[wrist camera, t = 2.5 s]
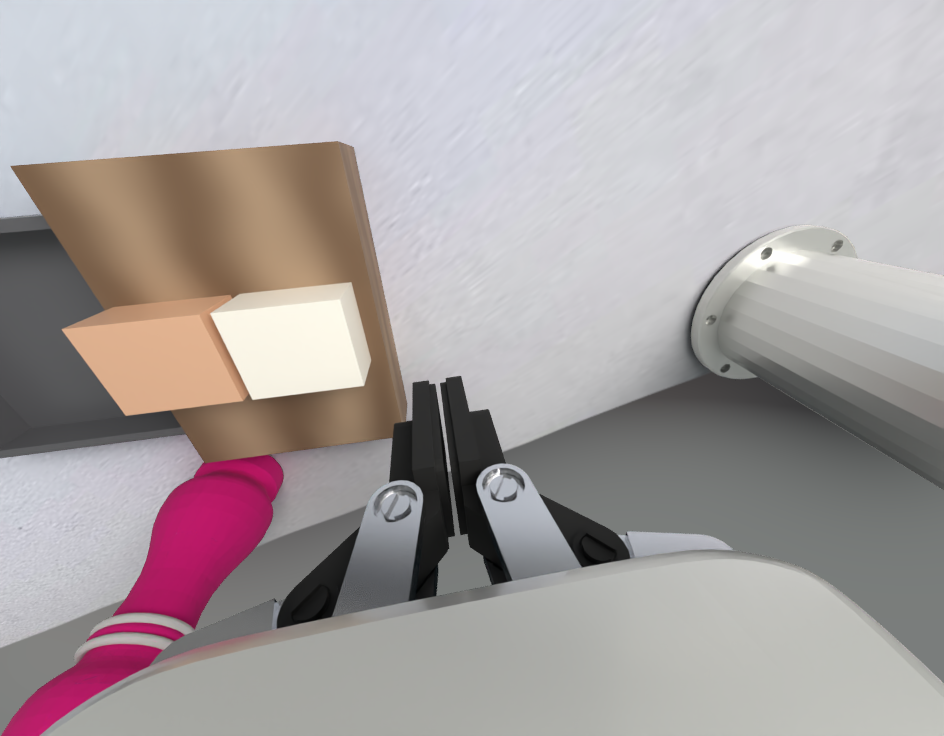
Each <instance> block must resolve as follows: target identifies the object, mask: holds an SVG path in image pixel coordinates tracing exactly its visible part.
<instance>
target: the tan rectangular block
mask: <svg viewBox="0 0 944 736" xmlns="http://www.w3.org/2000/svg"><path fill="white" fill-rule="evenodd" d="M231 299H232V297H231V295H224V296H214V297H205V298H195V299H186V300H176V301H167V302H157V303H147V304H138V305H128V306H119V307H112V308H110V309H108V310H105V311H103V312H101V313H98V314H96V315H94V316H91V317H89V318H87V319H84V320H82V321H80V322H77V323H75V324H73V325H70V326H68V327H66V328H63V329H61V330H62V331H63V332H64V334H65V335H66V336H67V338H68V339H69V340H70V342H71V343H72V344H73V346H74V347H75V348H76V350H77V351H78V352H79V354H80V355H81V356H82V358H83V359H84V360H85V362H86V363H87V364H88V366H89V367H90V368H91V370H92V371H93V372H94V374H95V375H96V376H97V378H98V379H99V380H100V382H101V383H102V384H103V386H104V387H105V388H106V390H107V391H108V392H109V394H110V395H111V396H112V398H113V399H114V400H115V402H116V403H117V405H118V406H119V407H120V409H121V410H122V411H123V413H124V414H125V415H126V416H128V415H136V414H144V413H152V412H160V411H168V410H176V409H184V408H192V407H200V406H208V405H216V404H224V403H232V402H240V401H243V400H244V399H245V398H246V397H247V395H248V394H249V392H248V390H247V388H246V386H245V384H244V382H243V379H242V377H241V375H240V373H239V371H238V369H237V367H236V365H235V363H234V361H233V359H232V357H231V355H230V353H229V351H228V349H227V347H226V345H225V343H224V341H223V339H222V337H221V335H220V333H219V331H218V329H217V327H216V325H215V323H214V321H213V319H212V316H211V314H210V313H211V312H213V311H214V310H216V309H218V308H219V307H221V306H222V305H224V304H225V303H227V302H228V301H230V300H231Z"/></svg>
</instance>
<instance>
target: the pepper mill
mask: <svg viewBox="0 0 944 736" xmlns="http://www.w3.org/2000/svg"><path fill="white" fill-rule="evenodd" d="M282 482H283V472H282V469H281V467H280V465H279V464H278V463H277V462H276V460H275V459H274V458H272V457H271V456H269V455H262V456H255V457H247V458H240V459H233V460H225V461H218V462H211V463H205V462H204V463H203V464H202V465H201V467H200V468H199V469H198V470H197V472H196V474H195V476H194V478H193V479H190V480H188V481H186V482H184V483H182V484H181V485H179V486H178V487H177V488H176V489H174V490H173V491H172V493H171V494H170V495H169V496H168V498H167V499H166V501H165V502H164V504H163V505H162V507H161V509H160V511H159V513H158V515H157V518H156V520H155V523H154V526H153V530H152V536H151V541H150V547H149V551H148V555H147V559H146V562H145V564H144V567H143V569H142V572H141V574H140V576H139V578H138V580H137V581H136V583H135V585H134V586H133V588H132V590H131V591H130V593H129V595H128V596H127V598H126V599H125V601H124V602H123V603H122V604H121V606H120V607H119V608H118V609H117V611H116V612H115V613H114V615H113V616H112V617H110V618H107V619H105V620H103V621H101V622H99V623H98V624H97V625H96V626H95V627H94V628H93V629H92V630H91V632H90V637H89V639H88V640H87V641H86V643H84V644H83V645H81V646H80V647H79V648H78V649H77V651H76V653H75V657H74V660H75V664H76V665H75V666H74V667H72V668H70V669H69V670H67V671H65V672H64V673H62V674H60V675H59V676H57V677H56V678H54V679H52V680H51V681H49V682H48V683H46V684H45V685H44V686H42V687H41V688H39V689H38V690H37V691H36V692H35V693H34V694H33V695H32V696H31V697H30V698H29V699H28V700H27V701H26V702H25V703H24V705H23V706H22V707H21V708H20V709H19V711H18V712H17V713H16V714H15V715H14V716H13V718H12V719H11V721H10V723H9V724H8V726H7V727H6V729H5V730H4V732H3V733H2V735H1V736H40V735H41V734H42V733H43V732H45V731H46V730H47V729H48V728H49V727H50V726H52V725H53V724H54V723H55V722H56V721H58V720H59V719H61V718H62V717H63V716H65V715H66V714H68V713H69V712H70V711H72V710H73V709H75V708H76V707H78V706H79V705H81V704H82V703H84V702H85V701H87V700H88V699H90V698H91V697H93V696H94V695H96V694H98V693H100V692H101V691H103V690H105V689H107V688H109V687H110V686H112V685H114V684H116V683H117V682H119V681H121V680H123V679H125V678H127V677H128V676H130V675H132V674H134V673H136V672H138V671H140V670H143V669H145V668H147V667H149V666H150V664H151V663H152V662H153V661H154V659H155V658H156V657H157V656H158V654H160V653H161V652H162V651H163V650H164V649H165V648H166V647H168V646H169V645H170V644H171V643H172V642H174V641H176V640H178V639H179V638H181V637H183V636H185V635H187V634H189V633H192V632H194V631H195V627H196V625H197V623H198V620H199V618H200V616H201V613H202V611H203V610H204V608H205V606H206V604H207V603H208V601H209V599H210V598H211V596H212V594H213V593H214V592H215V591H216V589H217V588H218V587H219V586H220V584H221V583H222V582H223V580H224V579H225V578H226V577H227V576H228V575H229V574H230V573H231V572H232V571H233V570H234V569H235V568H236V567H237V566H238V565H239V564H240V563H241V562H242V561H243V560H244V559H245V558H246V557H247V556H248V555H249V554H250V553H251V552H252V551H253V550H254V548H255V547H256V546H257V545H258V543H259V542H260V541H261V540H262V538H263V537H264V535H265V533H266V531H267V529H268V528H269V526H270V524H271V521H272V518H273V508H272V504H271V502H272V501H273V500H274V499H275V497H276V495H277V493H278V491H279V489H280V486H281V484H282Z"/></svg>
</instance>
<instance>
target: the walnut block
mask: <svg viewBox="0 0 944 736" xmlns="http://www.w3.org/2000/svg"><path fill="white" fill-rule="evenodd" d="M11 168H12V170H13V171H14V173H15V174H16V176H17V177H18V179H19V180H20V182H21V183H22V185H23V186H24V188H25V189H26V191H27V192H28V194H29V195H30V197H31V199H32V200H33V202H34V203H35V205H36V206H37V208H38V209H39V211H40V212H41V214H42V215H43V217H44V218H45V220H46V221H47V223H48V224H49V226H50V227H51V229H52V231H53V232H54V234H55V235H56V237H57V238H58V240H59V241H60V243H61V244H62V246H63V247H64V249H65V250H66V252H67V253H68V255H69V256H70V258H71V260H72V261H73V263H74V264H75V266H76V267H77V269H78V270H79V272H80V273H81V275H82V276H83V278H84V279H85V281H86V282H87V284H88V285H89V287H90V288H91V290H92V292H93V293H94V295H95V296H96V298H97V299H98V301H99V302H100V304H101V305H102V307H103V308H104V310H108V309H110V308H112V307H119V306H128V305H138V304H147V303H157V302H167V301H176V300H186V299H195V298H205V297H214V296H224V295H231V297H232V299H233V298H234V297H236V296H237V295H239V294H243V293H253V292H262V291H272V290H282V289H291V288H301V287H310V286H320V285H330V284H339V283H349V282H351V283H352V287H353V291H354V294H355V298H356V302H357V306H358V310H359V314H360V318H361V322H362V326H363V330H364V334H365V338H366V341H367V345H368V349H369V353H370V357H371V363H370V367H369V370H368V374H367V377H366V381H365V384H364V386H359V387H351V388H343V389H335V390H327V391H319V392H311V393H303V394H295V395H287V396H279V397H271V398H263V399H255V400H252V398H251V396H250V394H248V395H247V397H246V398H245V399H244V400H243V401H240V402H232V403H224V404H216V405H208V406H200V407H192V408H184V409H176V410H171V412H172V414H173V415H174V417H175V418H176V420H177V421H178V423H179V424H180V426H181V427H182V429H183V430H184V432H185V433H186V435H187V436H188V438H189V439H190V441H191V442H192V444H193V446H194V447H195V449H196V450H197V452H198V453H199V455H200V456H201V458H202V459H203V461H204V462H205V463H211V462H218V461H225V460H233V459H240V458H247V457H255V456H262V455H269V454H277V453H284V452H291V451H298V450H306V449H313V448H320V447H328V446H335V445H342V444H350V443H357V442H364V441H372V440H379V439H386V438H393V429H394V424H395V423H400V422H406V413H407V401H406V396H405V391H404V386H403V382H402V377H401V372H400V367H399V362H398V358H397V353H396V348H395V343H394V339H393V334H392V329H391V324H390V319H389V315H388V310H387V305H386V300H385V296H384V291H383V286H382V281H381V276H380V272H379V267H378V262H377V257H376V253H375V248H374V243H373V238H372V233H371V229H370V224H369V219H368V214H367V210H366V205H365V200H364V195H363V190H362V186H361V181H360V176H359V171H358V166H357V162H356V157H355V152H354V147H352V146H349V145H346V144H344V143H341V142H338V141H336V142H322V143H309V144H296V145H283V146H269V147H256V148H243V149H230V150H217V151H203V152H190V153H177V154H164V155H150V156H137V157H124V158H111V159H97V160H84V161H71V162H58V163H44V164H31V165H18V166H11Z"/></svg>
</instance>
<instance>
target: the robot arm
mask: <svg viewBox="0 0 944 736" xmlns="http://www.w3.org/2000/svg"><path fill="white" fill-rule="evenodd" d="M691 341H692V347H693V350H694V353H695V356H696V357H697V358H698V360H699V361H700V363H701V364H702V365H704V366H705V367H706V368H708V369H709V370H710V371H712V372H713V373H715V374H717V375H719V376H721V377H725V378H729V379H748V378H755V377H759V378H761V379H762V380H764V381H766V382H767V383H769V384H770V385H772V386H774V387H775V388H777V389H779V390H780V391H782V392H784V393H785V394H787V395H788V396H790V397H792V398H793V399H795V400H797V401H798V402H800V403H802V404H803V405H805V406H806V407H808V408H810V409H811V410H813V411H815V412H816V413H818V414H820V415H821V416H823V417H824V418H826V419H828V420H829V421H831V422H833V423H834V424H836V425H838V426H839V427H841V428H843V429H844V430H846V431H847V432H849V433H851V434H852V435H854V436H856V437H857V438H859V439H860V440H862V441H864V442H865V443H867V444H869V445H870V446H872V447H874V448H875V449H877V450H878V451H880V452H882V453H883V454H885V455H887V456H888V457H890V458H892V459H893V460H895V461H897V462H898V463H900V464H901V465H903V466H905V467H906V468H908V469H909V470H911V471H913V472H915V473H916V474H918V475H919V476H921V477H923V478H924V479H926V480H928V481H929V482H931V483H933V484H934V485H936V486H938V487H939V488H941V489H942V490H944V275H939V274H933V273H928V272H923V271H918V270H913V269H908V268H903V267H898V266H893V265H888V264H883V263H877V262H872V261H867V260H862V259H858V257H857V254H856V251H855V248H854V246H853V244H852V243H851V241H850V240H849V239H848V237H847V236H845V235H844V234H842V233H841V232H839V231H838V230H834V229H831V228H827V227H822V226H813V225H799V226H791V227H787V228H784V229H781V230H777V231H774V232H772V233H770V234H768V235H766V236H764V237H762V238H760V239H758V240H756V241H755V242H753V243H752V244H750V245H749V246H747V247H746V248H744V249H743V250H741V251H740V252H739V253H738V254H737V255H736V256H735V257H733V258H732V259H731V260H730V261H729V262H728V263H727V264H726V265H725V266H724V267H723V268H722V269H721V270H720V272H719V273H718V274H717V275H716V276H715V277H714V279H713V280H712V282H711V283H710V285H709V286H708V287H707V289H706V290H705V292H704V294H703V296H702V298H701V300H700V302H699V304H698V306H697V309H696V312H695V315H694V318H693V322H692V329H691ZM440 386H441V394H442V402H443V410H444V418H445V426H446V434H447V442H448V450H449V458H450V466H451V473H452V480H453V486H454V493H455V500H456V507H457V514H458V521H459V528H460V534H461V535H463V534H468V540H469V545H470V547H471V548H472V549H474V550H475V551H477V552H478V553H480V554H481V555H483V559H484V564H485V567H486V569H487V572H488V575H489V578H490V581H491V584H492V585H490V586H485V587H481V588H475V589H470V590H465V591H460V592H455V593H450V594H445V595H440V596H436V594H437V583H438V563H439V561H440V560H441V559H442V558H443V556H444V555H445V554H446V552H447V550H448V549H449V543H448V537H452V536H455V533H454V524H453V515H452V506H451V498H450V490H449V481H448V471H447V462H446V453H445V445H444V438H443V432H442V425H441V418H440V412H439V405H438V399H437V392H436V386H435V384H430V385H429V381H421V382H414V383H413V414H412V421H406V422H400V423H395V424H394V429H393V441H392V454H391V467H390V479H389V483H388V484H385V485H383V486H382V487H380V488H379V489H378V490H376V492H375V493H374V494H373V495H372V496H371V498H370V500H369V502H368V504H367V507H366V510H365V513H364V517H363V520H362V523H361V526H360V527H359V528H358V529H357V530H356V531H355V532H354V533H353V534H351V535H350V536H349V537H348V538H347V539H346V540H345V541H344V542H343V543H342V544H341V545H340V546H339V547H338V548H337V549H335V550H334V551H333V552H332V553H331V554H330V555H329V556H328V557H327V558H326V559H325V560H324V561H323V562H321V563H320V564H319V565H318V566H317V567H316V568H315V569H314V570H313V571H312V572H311V573H310V574H309V575H308V576H306V577H305V578H304V579H303V580H302V581H301V582H300V583H299V584H298V585H297V586H296V587H295V588H294V589H293V590H292V591H291V592H290V594H289V595H288V596H287V597H286V599H283V600H281V601H279V602H277V601H276V600H275V599H272V600H269V601H267V602H264V603H262V604H260V605H257V606H255V607H252V608H250V609H248V610H245V611H243V612H240V613H238V614H235V615H233V616H231V617H229V618H226V619H223V620H221V621H218V622H216V623H214V624H211V625H209V626H207V627H204V628H201V629H199V630H197V631H194V632H192V633H189V634H187V635H185V636H183V637H181V638H179V639H178V640H176V641H174V642H172V643H171V644H170V645H169V646H168V647H166V648H165V649H164V650H163V651H162V652H161V653H160V654H158V656H157V657H156V658H155V659H154V661H153V662H152V663H151V664H150V666H149V667H147V668H145V669H143V670H140V671H138V672H136V673H134V674H132V675H130V676H128V677H127V678H125V679H123V680H121V681H119V682H117V683H116V684H114V685H112V686H110V687H109V688H107V689H105V690H103V691H101V692H100V693H98V694H96V695H94V696H93V697H91V698H90V699H88V700H87V701H85V702H84V703H82V704H81V705H79V706H78V707H76V708H75V709H73V710H72V711H70V712H69V713H68V714H66V715H65V716H63V717H62V718H61V719H59V720H58V721H56V722H55V723H54V724H53V725H52V726H50V727H49V728H48V729H47V730H46V731H45V732H43V733H42V734H41V735H40V736H944V683H942V681H941V680H940V679H938V678H937V677H936V676H935V675H934V674H933V673H932V672H931V671H930V670H929V669H928V668H927V667H926V666H925V665H924V664H923V663H922V662H921V661H920V660H919V659H918V658H916V657H915V656H914V655H913V654H912V653H911V652H910V651H909V650H908V649H907V648H905V647H904V646H903V645H902V644H901V643H900V642H899V641H898V640H897V639H896V638H895V637H893V636H892V635H891V634H890V633H889V632H888V631H887V630H886V629H885V628H884V627H882V626H881V625H880V624H879V623H878V622H877V621H875V620H874V619H873V618H872V617H871V616H870V615H868V614H867V613H866V612H865V611H864V610H863V609H861V608H860V607H859V606H858V605H857V604H856V603H855V602H853V601H852V600H851V599H849V598H848V597H847V596H846V595H844V594H843V593H842V592H841V591H839V590H838V589H836V588H835V587H834V586H832V585H831V584H829V583H828V582H827V581H825V580H823V579H822V578H820V577H818V576H817V575H815V574H813V573H812V572H810V571H807V570H805V569H803V568H801V567H799V566H796V565H793V564H791V563H788V562H785V561H781V560H778V559H774V558H771V557H767V556H762V555H757V554H752V553H746V552H739V551H734V550H733V549H732V548H731V547H729V546H728V545H727V544H725V543H724V542H722V541H720V540H718V539H716V538H714V537H712V536H706V535H702V534H680V533H679V534H678V533H657V532H633V531H627V532H626V535H617V534H616V533H614V532H613V531H611V530H610V529H608V528H606V527H604V526H602V525H600V524H598V523H596V522H594V521H592V520H590V519H588V518H586V517H584V516H582V515H580V514H578V513H576V512H574V511H573V510H570V509H568V508H567V507H564V506H562V505H560V504H558V503H556V502H554V501H552V500H550V499H548V498H546V497H544V496H543V495H541V494H539V493H538V492H537V490H536V488H535V487H534V485H533V483H532V482H531V480H530V478H529V477H528V475H527V474H526V473H525V472H524V471H523V470H522V469H520V468H519V467H517V466H514V465H511V464H506V462H505V459H504V457H503V453H502V450H501V447H500V443H499V440H498V437H497V434H496V431H495V428H494V425H493V421H492V418H491V415H490V412H489V410H488V409H486V410H480V411H473V412H469V408H468V404H467V400H466V395H465V391H464V387H463V382H462V378H461V376H457V377H450V378H446V382H444V383H440Z"/></svg>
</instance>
